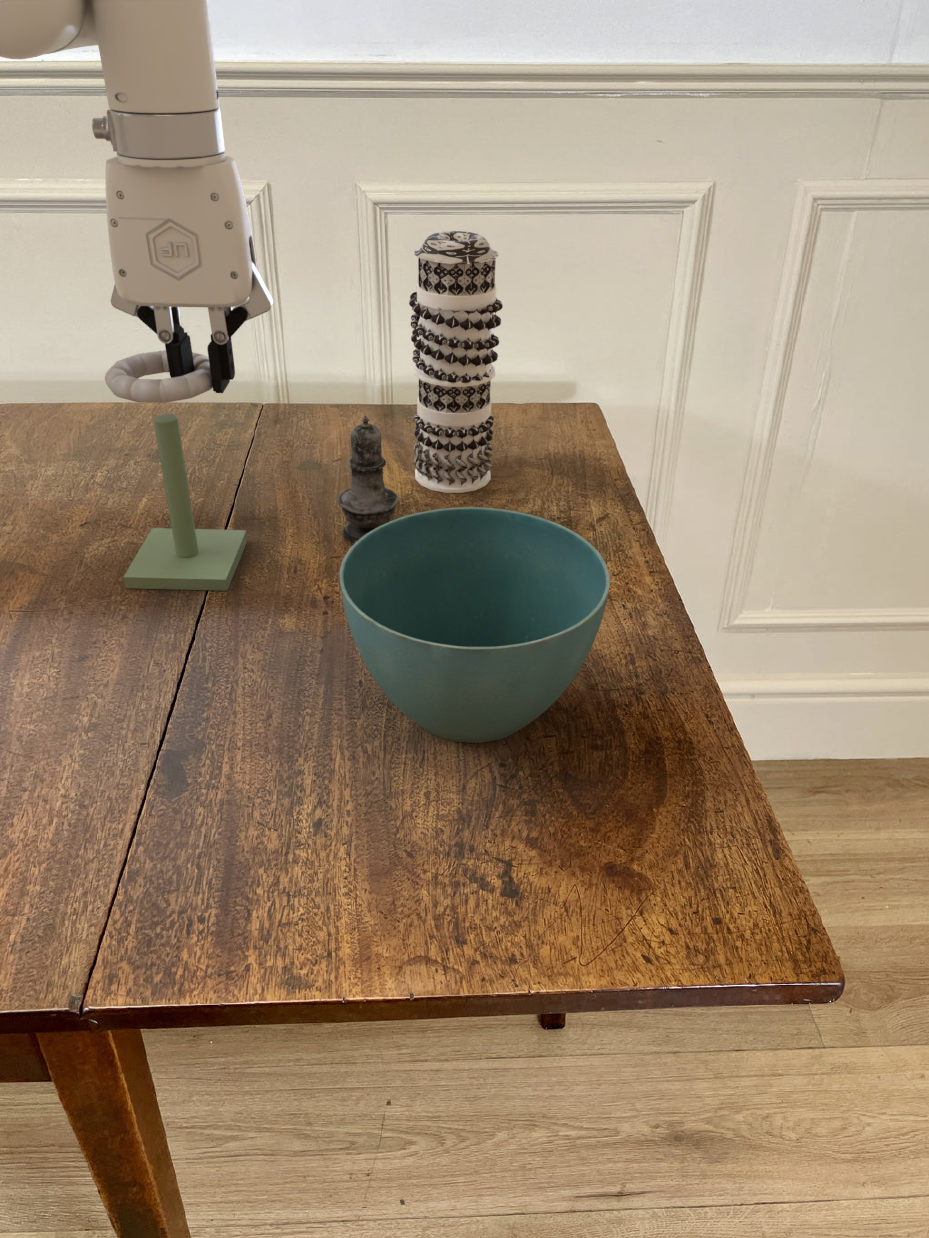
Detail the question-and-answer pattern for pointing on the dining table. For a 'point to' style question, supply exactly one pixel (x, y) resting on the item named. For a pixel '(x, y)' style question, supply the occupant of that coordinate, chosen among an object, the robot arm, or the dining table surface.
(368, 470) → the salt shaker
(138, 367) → the ring
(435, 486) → the decorative candle
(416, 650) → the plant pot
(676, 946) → the dining table surface
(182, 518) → the rack
